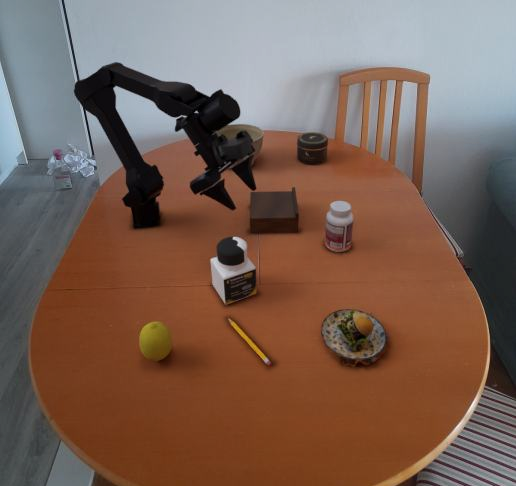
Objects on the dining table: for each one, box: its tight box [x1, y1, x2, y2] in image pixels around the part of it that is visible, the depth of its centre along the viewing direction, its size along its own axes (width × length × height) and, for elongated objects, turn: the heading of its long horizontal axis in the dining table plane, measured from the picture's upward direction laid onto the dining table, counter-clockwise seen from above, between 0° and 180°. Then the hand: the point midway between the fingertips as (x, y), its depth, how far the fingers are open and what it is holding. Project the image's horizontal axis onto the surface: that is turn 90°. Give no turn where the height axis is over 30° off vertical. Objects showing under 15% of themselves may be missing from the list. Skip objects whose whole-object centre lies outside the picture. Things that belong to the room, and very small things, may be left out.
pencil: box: [227, 318, 273, 367], centre depth 81 cm, size 1×13×1 cm, turn 36°
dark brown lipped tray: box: [249, 186, 300, 234], centre depth 115 cm, size 12×13×6 cm
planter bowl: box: [212, 123, 265, 169], centre depth 143 cm, size 16×16×11 cm
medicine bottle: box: [210, 236, 257, 306], centre depth 91 cm, size 7×7×12 cm
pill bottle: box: [324, 200, 354, 253], centre depth 104 cm, size 6×6×11 cm
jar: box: [296, 131, 329, 165], centre depth 146 cm, size 10×10×8 cm
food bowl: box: [320, 308, 388, 367], centre depth 80 cm, size 12×12×8 cm
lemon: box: [138, 321, 173, 362], centre depth 77 cm, size 6×6×8 cm
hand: (245, 199), depth 98 cm, fingers open, 9 cm apart
